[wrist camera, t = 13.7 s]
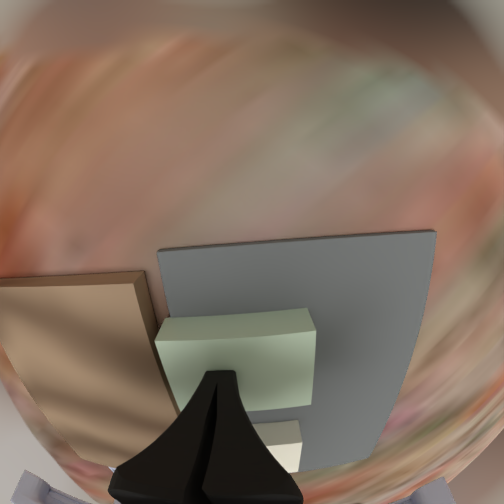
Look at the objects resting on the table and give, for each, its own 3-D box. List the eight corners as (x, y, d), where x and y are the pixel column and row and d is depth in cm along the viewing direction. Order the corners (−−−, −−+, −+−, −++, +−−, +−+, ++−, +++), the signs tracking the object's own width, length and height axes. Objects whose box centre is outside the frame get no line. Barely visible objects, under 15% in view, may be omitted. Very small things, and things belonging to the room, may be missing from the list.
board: (210, 469, 19) (209, 481, 17) (85, 448, 19) (81, 458, 17) (143, 270, 13) (133, 283, 11) (-10, 279, 13) (-22, 287, 11)
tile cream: (294, 452, 17) (297, 471, 15) (208, 456, 17) (206, 475, 15) (298, 419, 16) (302, 442, 14) (195, 424, 16) (192, 446, 14)
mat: (367, 454, 19) (368, 457, 19) (223, 473, 19) (223, 476, 19) (432, 229, 12) (436, 231, 12) (159, 249, 12) (156, 252, 12)
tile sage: (304, 380, 14) (310, 404, 13) (185, 387, 14) (180, 411, 13) (306, 307, 13) (316, 330, 11) (165, 317, 13) (154, 340, 11)
